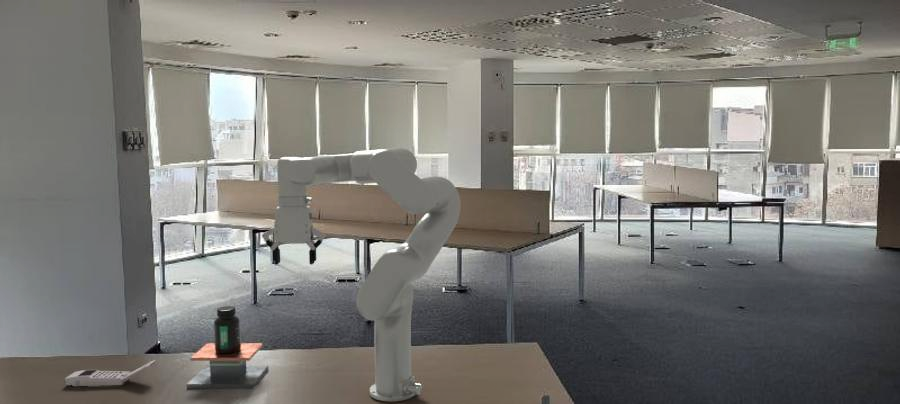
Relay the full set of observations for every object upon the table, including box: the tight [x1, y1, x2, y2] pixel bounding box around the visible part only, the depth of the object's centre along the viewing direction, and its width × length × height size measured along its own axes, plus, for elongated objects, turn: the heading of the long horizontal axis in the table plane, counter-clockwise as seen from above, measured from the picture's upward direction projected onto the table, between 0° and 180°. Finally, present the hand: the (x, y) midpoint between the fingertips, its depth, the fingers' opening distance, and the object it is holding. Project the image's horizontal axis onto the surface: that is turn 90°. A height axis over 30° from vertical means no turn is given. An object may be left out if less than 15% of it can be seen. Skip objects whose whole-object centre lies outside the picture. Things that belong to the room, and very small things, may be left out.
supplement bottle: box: [213, 305, 242, 354], centre depth 187 cm, size 7×7×12 cm
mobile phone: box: [64, 359, 157, 387], centre depth 186 cm, size 6×6×25 cm
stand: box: [186, 342, 269, 390], centre depth 188 cm, size 18×14×8 cm
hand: (294, 263), depth 186 cm, fingers open, 9 cm apart
